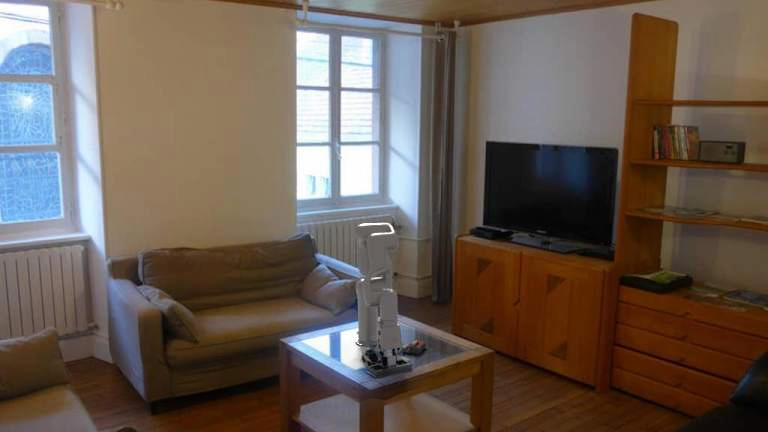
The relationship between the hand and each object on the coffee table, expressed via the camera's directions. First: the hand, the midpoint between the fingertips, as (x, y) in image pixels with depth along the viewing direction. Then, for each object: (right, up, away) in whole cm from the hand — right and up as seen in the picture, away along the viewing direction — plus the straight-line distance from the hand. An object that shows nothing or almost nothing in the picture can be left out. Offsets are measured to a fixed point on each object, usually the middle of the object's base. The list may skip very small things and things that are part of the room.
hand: (389, 363), depth 290 cm
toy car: (-8, -3, +10) cm, 13 cm away
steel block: (0, -3, 0) cm, 3 cm away
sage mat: (+4, -2, +13) cm, 14 cm away
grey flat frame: (0, -3, 0) cm, 3 cm away
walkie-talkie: (+10, 0, +23) cm, 25 cm away
